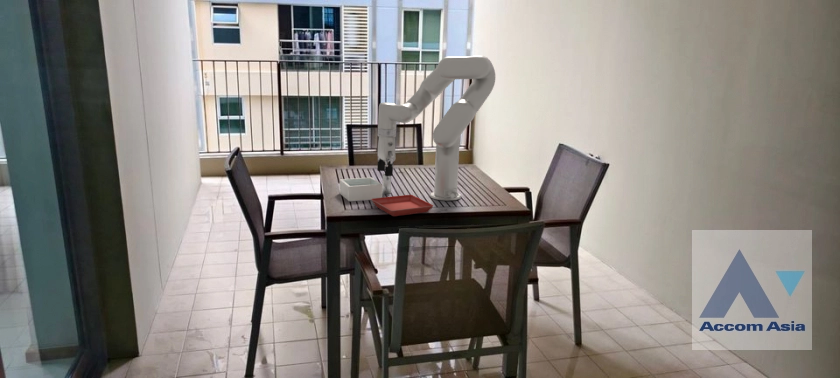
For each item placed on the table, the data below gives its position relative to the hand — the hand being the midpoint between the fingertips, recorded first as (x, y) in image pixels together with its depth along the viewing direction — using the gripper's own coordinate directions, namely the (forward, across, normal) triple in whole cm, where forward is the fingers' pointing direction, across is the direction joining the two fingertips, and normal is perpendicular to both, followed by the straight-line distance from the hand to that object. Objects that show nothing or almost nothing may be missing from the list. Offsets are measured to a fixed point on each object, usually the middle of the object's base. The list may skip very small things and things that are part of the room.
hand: (384, 173), depth 240 cm
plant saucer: (+9, -27, +2) cm, 28 cm away
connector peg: (+8, -1, -1) cm, 9 cm away
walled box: (+9, -3, +11) cm, 14 cm away
